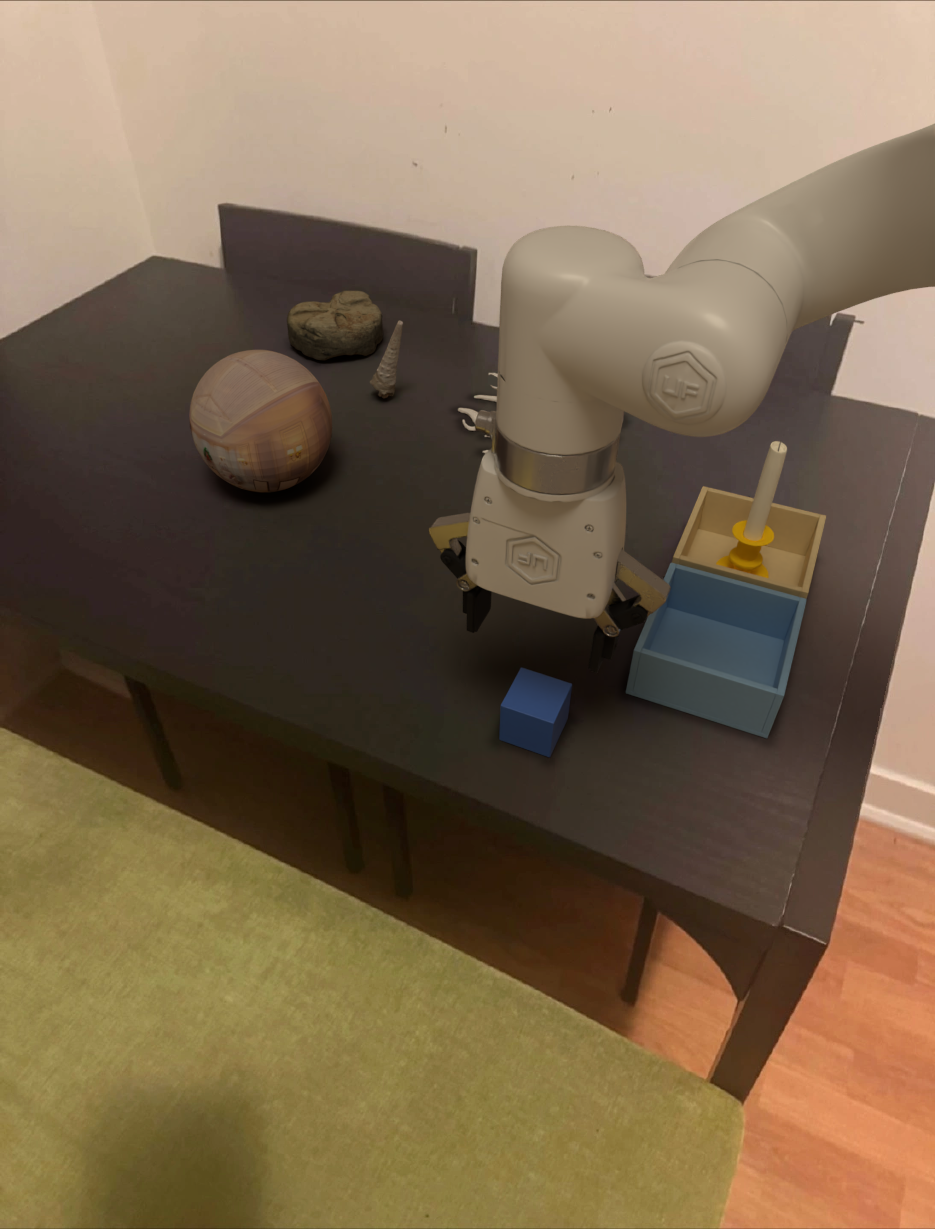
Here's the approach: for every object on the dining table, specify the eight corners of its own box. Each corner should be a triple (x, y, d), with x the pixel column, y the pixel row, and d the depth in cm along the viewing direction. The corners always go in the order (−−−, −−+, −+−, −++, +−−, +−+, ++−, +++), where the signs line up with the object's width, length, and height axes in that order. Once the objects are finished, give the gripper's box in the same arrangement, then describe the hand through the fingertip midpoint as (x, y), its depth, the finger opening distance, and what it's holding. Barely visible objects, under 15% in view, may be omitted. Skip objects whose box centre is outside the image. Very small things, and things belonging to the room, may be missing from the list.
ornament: (332, 436, 104) (317, 318, 93) (345, 510, 93) (330, 386, 83) (206, 450, 102) (176, 331, 91) (205, 528, 91) (171, 403, 81)
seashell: (376, 390, 112) (369, 308, 104) (413, 397, 110) (408, 314, 103) (366, 401, 110) (358, 319, 102) (403, 409, 108) (398, 325, 101)
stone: (278, 333, 123) (272, 298, 119) (364, 314, 127) (361, 279, 124) (307, 375, 115) (301, 338, 111) (398, 353, 119) (396, 316, 115)
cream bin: (810, 558, 87) (826, 515, 84) (792, 636, 79) (808, 593, 76) (693, 527, 91) (702, 485, 87) (663, 599, 83) (672, 556, 79)
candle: (778, 582, 84) (824, 448, 73) (736, 599, 82) (777, 463, 71) (744, 552, 87) (783, 419, 76) (703, 567, 86) (737, 433, 75)
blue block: (568, 718, 73) (572, 683, 69) (549, 758, 70) (553, 723, 66) (518, 701, 74) (521, 666, 71) (499, 740, 71) (500, 705, 68)
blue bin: (790, 642, 79) (807, 598, 75) (767, 738, 71) (784, 696, 67) (661, 605, 82) (670, 561, 79) (625, 693, 74) (633, 650, 71)
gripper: (402, 444, 52) (412, 637, 64) (679, 518, 47) (634, 712, 59) (453, 387, 57) (454, 577, 69) (709, 448, 52) (662, 641, 64)
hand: (537, 639), depth 64 cm, fingers open, 9 cm apart
